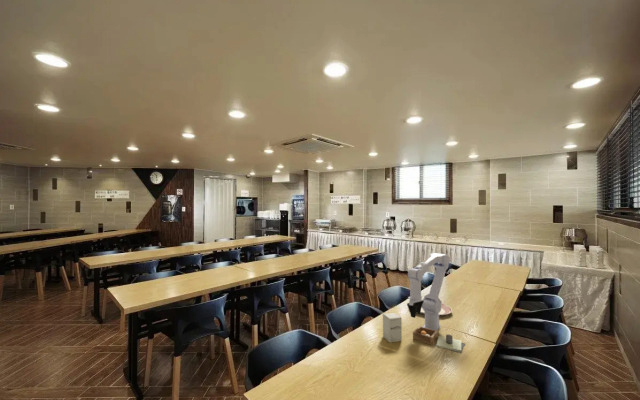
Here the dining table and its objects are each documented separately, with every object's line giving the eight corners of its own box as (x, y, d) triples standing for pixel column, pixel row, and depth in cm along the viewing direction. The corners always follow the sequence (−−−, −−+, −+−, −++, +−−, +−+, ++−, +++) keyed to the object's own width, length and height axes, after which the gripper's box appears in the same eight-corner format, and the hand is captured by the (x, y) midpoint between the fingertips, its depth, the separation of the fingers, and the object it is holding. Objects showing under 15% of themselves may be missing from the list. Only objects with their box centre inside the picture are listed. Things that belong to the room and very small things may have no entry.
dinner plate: (443, 304, 199) (443, 300, 199) (459, 319, 172) (458, 314, 172) (405, 303, 202) (405, 299, 202) (414, 318, 175) (414, 313, 175)
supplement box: (389, 343, 141) (389, 318, 142) (382, 337, 148) (382, 313, 149) (402, 341, 143) (401, 317, 144) (394, 335, 150) (394, 312, 151)
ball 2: (425, 338, 146) (425, 332, 146) (431, 340, 144) (431, 334, 144) (423, 340, 143) (423, 334, 143) (429, 342, 141) (429, 336, 142)
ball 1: (421, 334, 150) (421, 329, 150) (427, 336, 148) (427, 330, 148) (419, 336, 148) (419, 331, 148) (425, 338, 146) (425, 332, 146)
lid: (438, 337, 147) (438, 329, 147) (461, 342, 141) (461, 333, 142) (436, 346, 137) (436, 337, 137) (461, 351, 132) (461, 342, 132)
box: (419, 333, 153) (419, 326, 153) (438, 338, 146) (438, 330, 147) (412, 339, 145) (412, 332, 145) (432, 345, 139) (432, 337, 139)
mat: (441, 337, 147) (441, 336, 147) (465, 344, 140) (465, 343, 140) (434, 346, 138) (434, 345, 138) (460, 354, 130) (460, 353, 131)
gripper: (413, 286, 161) (413, 310, 160) (403, 292, 149) (403, 317, 149) (425, 288, 156) (425, 312, 156) (416, 294, 145) (416, 320, 144)
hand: (415, 315), depth 152 cm, fingers open, 7 cm apart
